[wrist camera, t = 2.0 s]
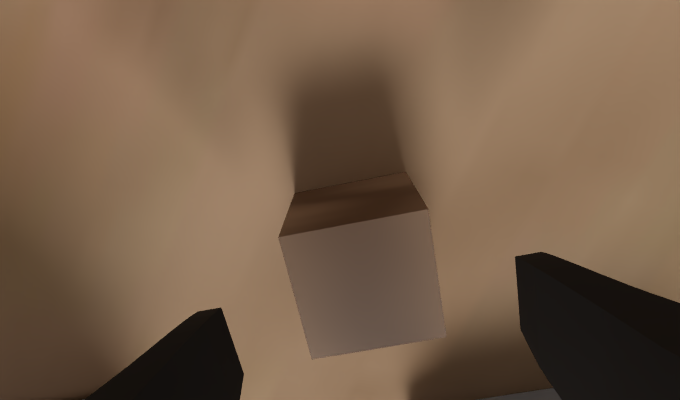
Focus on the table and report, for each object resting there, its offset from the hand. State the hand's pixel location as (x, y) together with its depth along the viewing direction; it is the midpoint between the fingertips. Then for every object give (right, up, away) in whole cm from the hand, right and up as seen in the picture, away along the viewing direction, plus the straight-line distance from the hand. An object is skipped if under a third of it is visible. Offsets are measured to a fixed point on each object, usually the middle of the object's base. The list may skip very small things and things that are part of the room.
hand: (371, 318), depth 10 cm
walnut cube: (0, +2, +5) cm, 6 cm away
